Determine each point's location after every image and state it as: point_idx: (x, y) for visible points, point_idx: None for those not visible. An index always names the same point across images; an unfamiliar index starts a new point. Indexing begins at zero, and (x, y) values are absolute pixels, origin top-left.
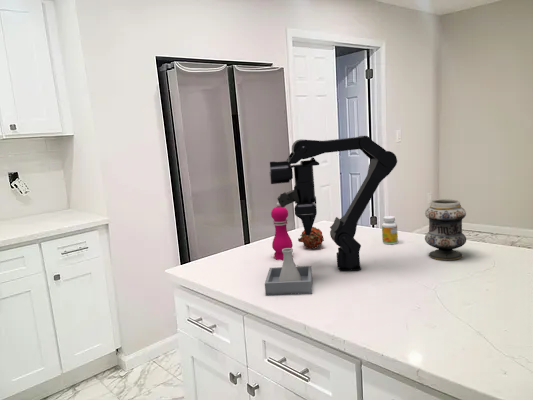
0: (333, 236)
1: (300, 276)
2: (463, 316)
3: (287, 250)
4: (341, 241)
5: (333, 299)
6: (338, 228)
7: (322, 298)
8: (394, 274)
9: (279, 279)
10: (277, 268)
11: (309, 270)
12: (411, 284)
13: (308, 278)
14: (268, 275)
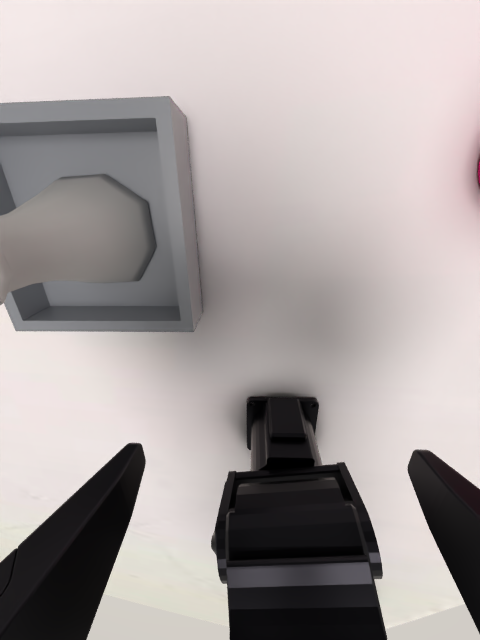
0: (255, 522)
1: (121, 281)
2: (21, 533)
3: (2, 259)
4: (217, 522)
5: (27, 367)
6: (229, 608)
7: (25, 340)
8: (212, 497)
9: (50, 185)
10: (160, 157)
11: (134, 325)
12: (149, 510)
13: (43, 322)
14: (38, 111)
